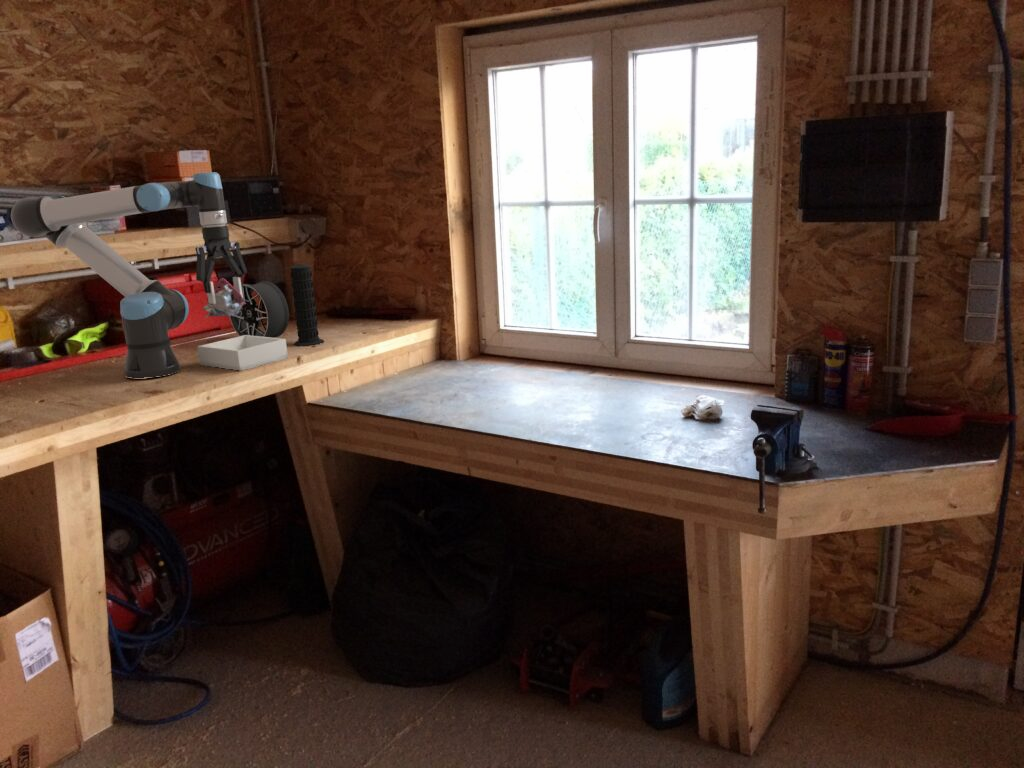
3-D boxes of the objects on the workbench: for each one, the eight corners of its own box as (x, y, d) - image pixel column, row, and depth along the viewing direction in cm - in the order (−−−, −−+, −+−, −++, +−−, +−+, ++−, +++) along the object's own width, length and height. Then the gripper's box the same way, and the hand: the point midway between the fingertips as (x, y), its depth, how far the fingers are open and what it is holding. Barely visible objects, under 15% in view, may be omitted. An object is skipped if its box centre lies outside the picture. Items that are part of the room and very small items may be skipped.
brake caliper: (252, 302, 267) (238, 274, 258) (243, 328, 260) (228, 300, 251) (218, 303, 269) (202, 276, 259) (208, 329, 262) (192, 302, 252)
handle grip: (319, 345, 281) (328, 339, 290) (310, 264, 274) (319, 261, 284) (289, 346, 282) (299, 340, 291) (279, 266, 275) (290, 262, 285)
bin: (240, 371, 250) (237, 351, 249) (200, 365, 261) (197, 346, 259) (287, 358, 264) (285, 339, 263) (247, 353, 275) (245, 334, 274)
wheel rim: (232, 340, 297) (224, 283, 292) (253, 335, 305) (246, 279, 300) (271, 345, 286) (264, 285, 281) (292, 339, 294) (285, 281, 289)
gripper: (189, 229, 244) (202, 307, 250) (252, 222, 261) (263, 295, 266) (174, 229, 249) (187, 306, 254) (237, 222, 265) (248, 294, 271)
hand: (226, 300), depth 260 cm, fingers closed on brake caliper, 9 cm apart
